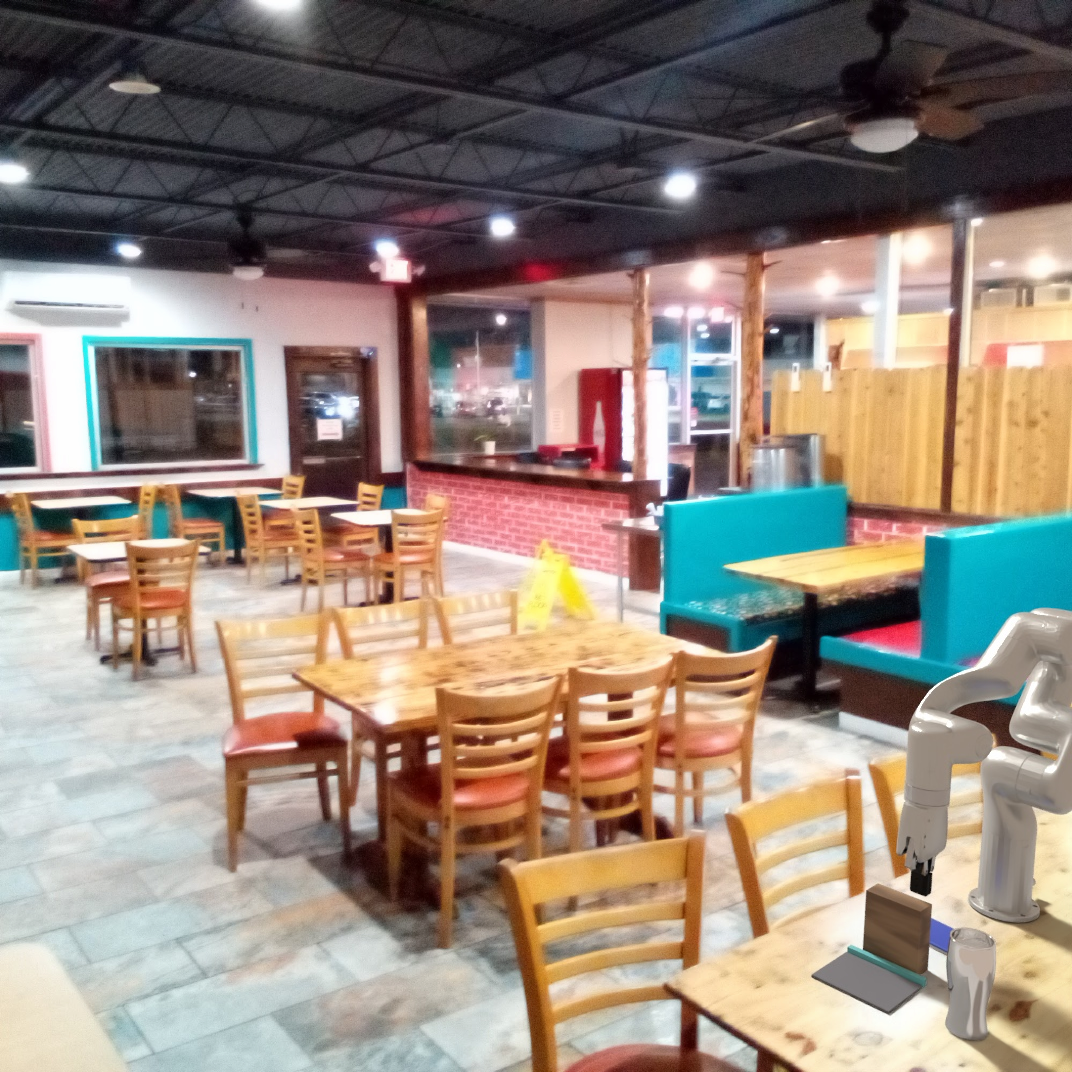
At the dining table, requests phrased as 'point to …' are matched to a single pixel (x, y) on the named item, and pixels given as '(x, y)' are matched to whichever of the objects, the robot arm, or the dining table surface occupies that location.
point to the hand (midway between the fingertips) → (920, 892)
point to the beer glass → (969, 981)
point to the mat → (867, 982)
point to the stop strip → (887, 965)
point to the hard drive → (939, 936)
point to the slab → (897, 928)
